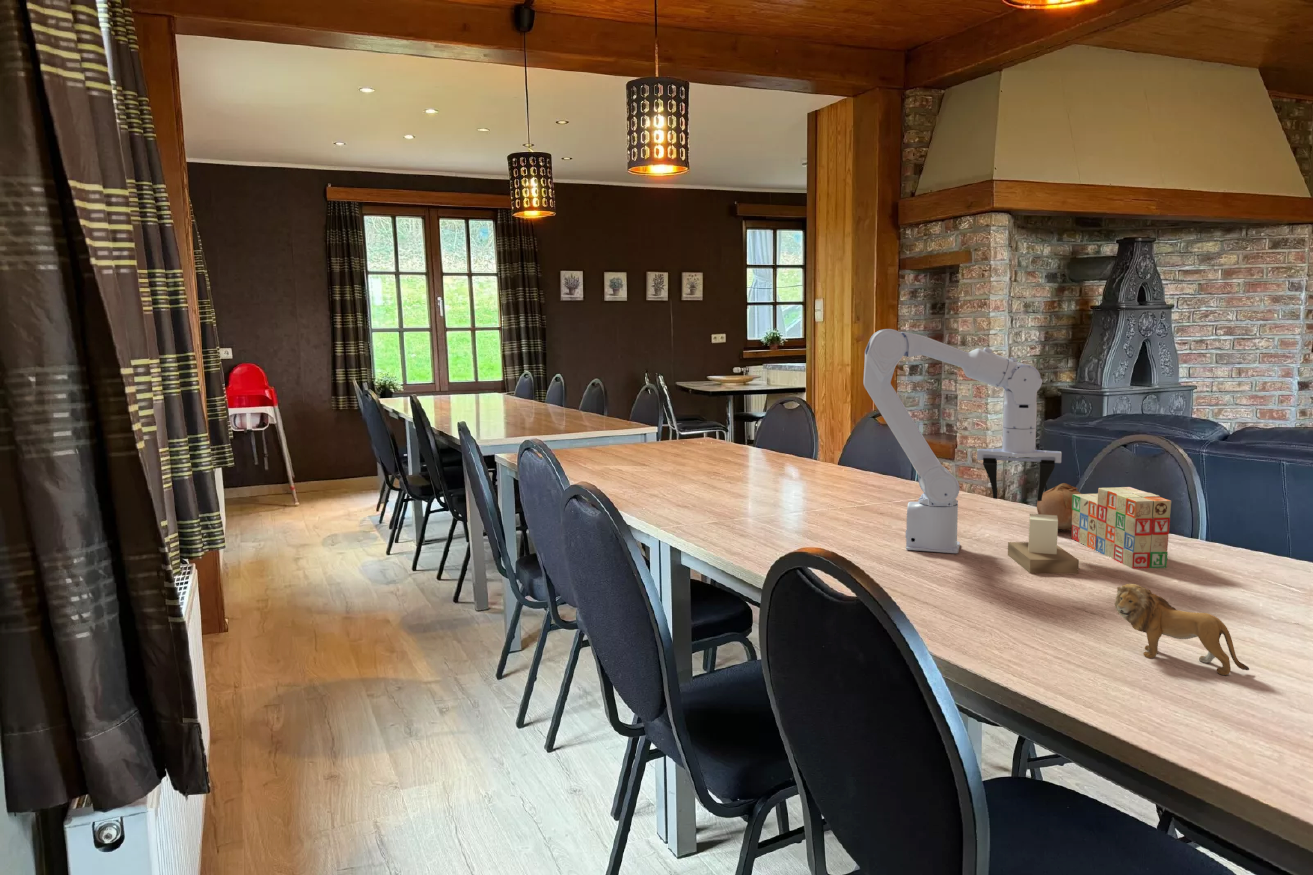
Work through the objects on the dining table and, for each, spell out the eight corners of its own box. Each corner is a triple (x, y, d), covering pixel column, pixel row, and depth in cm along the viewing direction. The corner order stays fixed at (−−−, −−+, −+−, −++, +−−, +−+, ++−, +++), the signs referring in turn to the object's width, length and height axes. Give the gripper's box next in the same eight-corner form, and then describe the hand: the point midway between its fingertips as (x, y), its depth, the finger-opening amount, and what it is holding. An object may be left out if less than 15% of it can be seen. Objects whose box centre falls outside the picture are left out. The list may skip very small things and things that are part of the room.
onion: (1078, 526, 177) (1080, 479, 175) (1093, 536, 167) (1095, 487, 166) (1030, 525, 178) (1032, 479, 177) (1043, 535, 169) (1044, 487, 168)
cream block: (1028, 552, 148) (1029, 519, 147) (1028, 545, 152) (1029, 513, 151) (1056, 554, 146) (1058, 521, 145) (1055, 547, 150) (1056, 515, 149)
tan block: (1029, 576, 144) (1030, 559, 143) (1007, 557, 155) (1008, 542, 155) (1078, 576, 143) (1078, 559, 142) (1052, 558, 155) (1052, 542, 154)
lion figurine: (1108, 654, 108) (1112, 586, 107) (1116, 641, 112) (1119, 576, 111) (1247, 681, 99) (1252, 608, 97) (1250, 666, 103) (1255, 596, 102)
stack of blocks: (1070, 539, 166) (1072, 478, 165) (1101, 538, 166) (1103, 478, 165) (1132, 569, 145) (1136, 500, 143) (1168, 568, 145) (1172, 499, 144)
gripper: (977, 429, 155) (975, 500, 157) (1063, 431, 149) (1060, 505, 151) (978, 425, 161) (976, 493, 163) (1061, 426, 156) (1058, 497, 158)
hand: (1017, 498), depth 158 cm, fingers open, 7 cm apart
